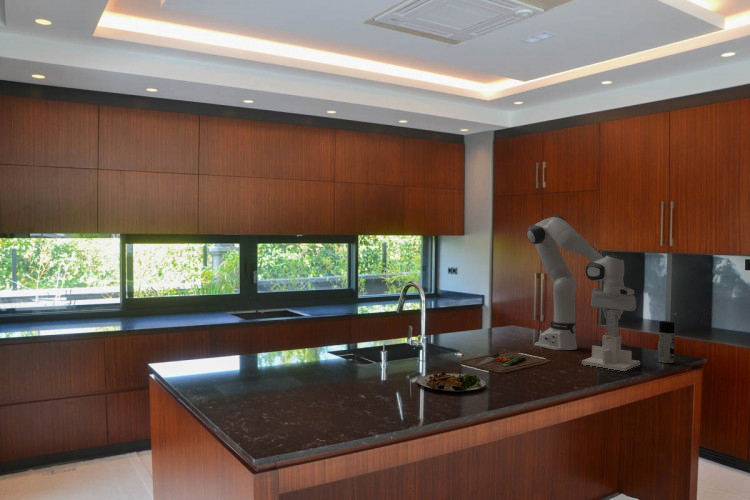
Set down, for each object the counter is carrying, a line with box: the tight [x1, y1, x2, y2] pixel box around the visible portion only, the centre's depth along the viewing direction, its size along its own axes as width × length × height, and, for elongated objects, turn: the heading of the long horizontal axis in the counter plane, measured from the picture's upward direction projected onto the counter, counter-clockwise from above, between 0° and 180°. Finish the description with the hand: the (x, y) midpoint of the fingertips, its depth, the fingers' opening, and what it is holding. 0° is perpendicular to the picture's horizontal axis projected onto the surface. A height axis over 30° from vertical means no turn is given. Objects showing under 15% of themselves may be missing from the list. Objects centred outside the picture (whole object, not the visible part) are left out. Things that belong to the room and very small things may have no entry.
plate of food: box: [416, 370, 487, 393], centre depth 233 cm, size 28×28×6 cm
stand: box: [581, 334, 641, 372], centre depth 273 cm, size 20×20×14 cm
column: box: [605, 309, 619, 337], centre depth 273 cm, size 4×4×18 cm
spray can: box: [658, 320, 675, 364], centre depth 280 cm, size 7×7×20 cm
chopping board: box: [458, 351, 551, 375], centre depth 275 cm, size 45×27×3 cm, turn 130°
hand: (612, 318), depth 273 cm, fingers closed on column, 4 cm apart
